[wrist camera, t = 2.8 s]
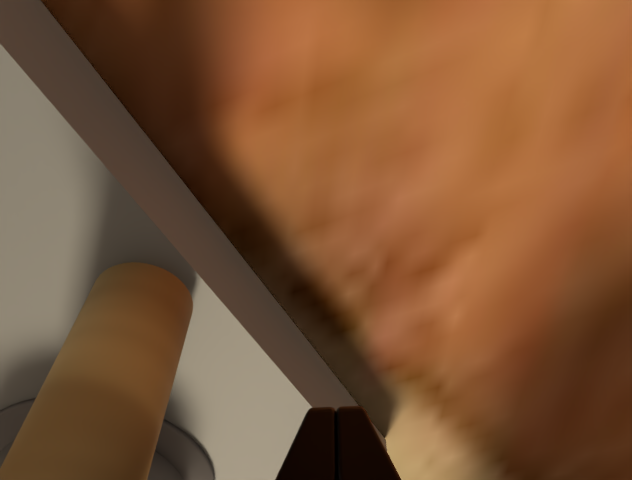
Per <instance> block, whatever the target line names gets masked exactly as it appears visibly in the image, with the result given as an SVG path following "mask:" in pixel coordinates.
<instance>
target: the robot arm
mask: <svg viewBox="0 0 632 480" xmlns="http://www.w3.org/2000/svg"><path fill="white" fill-rule="evenodd" d="M275 480H401V478H400V476H399V474H398V472H397V471H396V469H395V467H394V465H393V463H392V461H391V459H390V457H389V455H388V453H387V451H386V449H385V447H384V445H383V443H382V441H381V440H380V438H379V436H378V434H377V432H376V430H375V428H374V426H373V424H372V422H371V420H370V418H369V416H368V414H367V412H366V411H365V409H364V408H363V407H361V406H341V407H339V408H337V410H335V409H334V408H333V407H314V408H310V409H309V410H308V411H307V413H306V414H305V417H304V419H303V421H302V423H301V425H300V427H299V429H298V432H297V434H296V436H295V438H294V440H293V442H292V444H291V447H290V449H289V451H288V453H287V455H286V457H285V459H284V462H283V464H282V466H281V468H280V470H279V472H278V474H277V477H276V479H275Z"/></svg>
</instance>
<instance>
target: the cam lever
mask: <svg viewBox="0 0 632 480" xmlns="http://www.w3.org/2000/svg"><path fill="white" fill-rule="evenodd" d="M192 312H193V301H192V297H191V295H190V292H189V290H188V289H187V287H186V286H185V285H184V284H183V282H182V281H181V280H179V279H178V278H177V277H176V276H175V275H173V274H172V273H170V272H168V271H167V270H165V269H162V268H160V267H157V266H154V265H151V264H147V263H139V262H130V263H122V264H118V265H115V266H112V267H110V268H108V269H107V270H105V271H104V272H103V273H101V274H100V275H99V277H98V278H97V279H96V281H95V283H94V285H93V287H92V289H91V291H90V293H89V295H88V297H87V299H86V301H85V303H84V305H83V307H82V309H81V311H80V313H79V315H78V317H77V319H76V320H75V322H74V324H73V326H72V328H71V330H70V332H69V334H68V336H67V338H66V340H65V342H64V344H63V346H62V348H61V350H60V352H59V354H58V356H57V358H56V360H55V362H54V364H53V366H52V368H51V370H50V372H49V374H48V375H47V377H46V379H45V381H44V383H43V385H42V387H41V389H40V391H39V393H38V395H37V397H36V399H35V401H34V403H33V405H32V407H31V409H30V411H29V413H28V415H27V417H26V419H25V421H24V423H23V425H22V427H21V429H20V431H19V432H18V434H17V436H16V438H15V440H13V441H11V442H10V443H9V444H8V445H6V446H5V447H4V448H3V449H2V451H1V452H0V480H183V478H182V477H181V475H180V473H179V472H178V471H177V470H176V468H175V467H174V466H173V465H172V464H171V463H170V462H169V461H168V460H167V459H165V458H164V457H163V456H161V455H160V454H158V453H157V452H156V451H155V449H156V445H157V441H158V438H159V434H160V430H161V427H162V423H163V419H164V416H165V412H166V408H167V405H168V401H169V397H170V394H171V390H172V386H173V382H174V379H175V375H176V371H177V368H178V364H179V360H180V357H181V353H182V349H183V346H184V342H185V338H186V335H187V331H188V327H189V324H190V320H191V316H192Z"/></svg>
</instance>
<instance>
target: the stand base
mask: <svg viewBox="0 0 632 480" xmlns="http://www.w3.org/2000/svg"><path fill="white" fill-rule="evenodd" d="M130 262H139V263H147V264H151V265H154V266H157V267H160V268H162V269H165V270H167V271H168V272H170V273H172V274H173V275H175V276H176V277H177V278H178V279H179V280H181V281H182V282H183V284H184V285H185V286H186V287H187V289H188V290H189V292H190V295H191V297H192V301H193V312H192V316H191V320H190V324H189V327H188V331H187V335H186V338H185V342H184V346H183V349H182V353H181V357H180V360H179V364H178V368H177V371H176V375H175V379H174V382H173V386H172V390H171V394H170V397H169V401H168V405H167V408H166V412H165V416H164V419H163V423H162V427H161V430H160V434H159V438H158V441H157V445H156V449H155V451H156V452H157V453H158V454H160V455H161V456H163V457H164V458H165V459H167V460H168V461H169V462H170V463H171V464H172V465H173V466H174V467H175V468H176V470H177V471H178V472H179V473H180V475H181V477H182V478H183V480H275V479H276V477H277V474H278V472H279V470H280V468H281V466H282V464H283V462H284V459H285V457H286V455H287V453H288V451H289V449H290V447H291V444H292V442H293V440H294V438H295V436H296V434H297V432H298V429H299V427H300V425H301V423H302V421H303V419H304V417H305V414H306V413H307V411H308V410H309V409H310V408H314V407H333V408H334V409H335V410H337V408H339V407H341V406H359V405H358V404H357V403H356V401H355V400H354V399H353V398H352V396H351V395H350V394H349V392H348V391H347V390H346V389H345V387H344V386H343V385H342V384H341V382H340V381H339V380H338V378H337V377H336V376H335V375H334V373H333V372H332V371H331V370H330V368H329V367H328V366H327V364H326V363H325V362H324V361H323V359H322V358H321V357H320V356H319V354H318V353H317V352H316V350H315V349H314V348H313V347H312V345H311V344H310V343H309V342H308V340H307V339H306V338H305V336H304V335H303V334H302V333H301V331H300V330H299V329H298V328H297V326H296V325H295V324H294V322H293V321H292V320H291V319H290V317H289V316H288V315H287V313H286V312H285V311H284V310H283V308H282V307H281V306H280V305H279V303H278V302H277V301H276V299H275V298H274V297H273V296H272V294H271V293H270V292H269V291H268V289H267V288H266V287H265V285H264V284H263V283H262V282H261V280H260V279H259V278H258V277H257V275H256V274H255V273H254V271H253V270H252V269H251V268H250V266H249V265H248V264H247V263H246V261H245V260H244V259H243V257H242V256H241V255H240V254H239V252H238V251H237V250H236V249H235V247H234V246H233V245H232V243H231V242H230V241H229V240H228V238H227V237H226V236H225V235H224V233H223V232H222V231H221V229H220V228H219V227H218V226H217V224H216V223H215V222H214V221H213V219H212V218H211V217H210V215H209V214H208V213H207V212H206V210H205V209H204V208H203V207H202V205H201V204H200V203H199V201H198V200H197V199H196V198H195V196H194V195H193V194H192V193H191V191H190V190H189V189H188V187H187V186H186V185H185V184H184V182H183V181H182V180H181V179H180V177H179V176H178V175H177V173H176V172H175V171H174V170H173V168H172V167H171V166H170V165H169V163H168V162H167V161H166V159H165V158H164V157H163V156H162V154H161V153H160V152H159V151H158V149H157V148H156V147H155V145H154V144H153V143H152V142H151V140H150V139H149V138H148V137H147V135H146V134H145V133H144V131H143V130H142V129H141V128H140V126H139V125H138V124H137V123H136V121H135V120H134V119H133V117H132V116H131V115H130V114H129V112H128V111H127V110H126V108H125V107H124V106H123V105H122V103H121V102H120V101H119V100H118V98H117V97H116V96H115V94H114V93H113V92H112V91H111V89H110V88H109V87H108V86H107V84H106V83H105V82H104V80H103V79H102V78H101V77H100V75H99V74H98V73H97V72H96V70H95V69H94V68H93V66H92V65H91V64H90V63H89V61H88V60H87V59H86V58H85V56H84V55H83V54H82V52H81V51H80V50H79V49H78V47H77V46H76V45H75V44H74V42H73V41H72V40H71V38H70V37H69V36H68V35H67V33H66V32H65V31H64V30H63V28H62V27H61V26H60V24H59V23H58V22H57V21H56V19H55V18H54V17H53V16H52V14H51V13H50V12H49V10H48V9H47V8H46V7H45V5H44V4H43V3H42V2H41V0H0V452H1V451H2V449H3V448H4V447H5V446H6V445H8V444H9V443H10V442H11V441H13V440H15V438H16V436H17V434H18V432H19V431H20V429H21V427H22V425H23V423H24V421H25V419H26V417H27V415H28V413H29V411H30V409H31V407H32V405H33V403H34V401H35V399H36V397H37V395H38V393H39V391H40V389H41V387H42V385H43V383H44V381H45V379H46V377H47V375H48V374H49V372H50V370H51V368H52V366H53V364H54V362H55V360H56V358H57V356H58V354H59V352H60V350H61V348H62V346H63V344H64V342H65V340H66V338H67V336H68V334H69V332H70V330H71V328H72V326H73V324H74V322H75V320H76V319H77V317H78V315H79V313H80V311H81V309H82V307H83V305H84V303H85V301H86V299H87V297H88V295H89V293H90V291H91V289H92V287H93V285H94V283H95V281H96V279H97V278H98V277H99V275H100V274H101V273H103V272H104V271H105V270H107V269H108V268H110V267H112V266H115V265H118V264H122V263H130ZM372 424H373V423H372ZM373 426H374V424H373ZM374 428H375V430H376V432H377V434H378V436H379V438H380V440H381V441H382V443H383V445H384V447H385V449H386V440H385V438H384V437H383V436H382V434H381V433H380V432H379V431H378V429H377V428H376V427H375V426H374ZM386 451H387V449H386Z"/></svg>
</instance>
